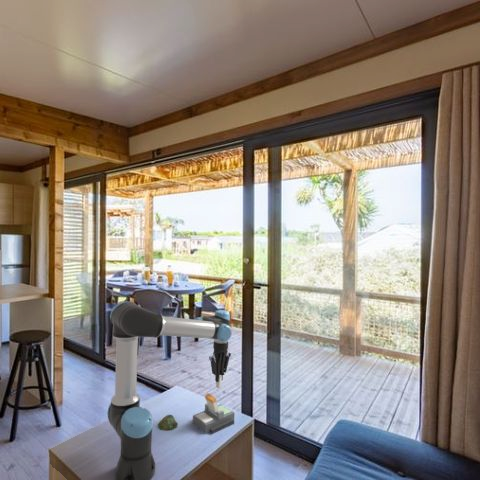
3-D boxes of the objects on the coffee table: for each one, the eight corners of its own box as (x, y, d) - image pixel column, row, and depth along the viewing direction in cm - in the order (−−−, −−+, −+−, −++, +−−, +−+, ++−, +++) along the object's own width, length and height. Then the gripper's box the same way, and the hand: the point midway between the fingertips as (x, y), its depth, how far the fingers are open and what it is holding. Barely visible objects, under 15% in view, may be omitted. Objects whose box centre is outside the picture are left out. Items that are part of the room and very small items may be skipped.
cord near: (212, 434, 159) (212, 430, 159) (209, 432, 160) (209, 428, 160) (234, 423, 168) (234, 420, 168) (231, 422, 169) (231, 418, 169)
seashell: (155, 421, 161) (162, 410, 171) (154, 429, 161) (161, 418, 171) (175, 425, 159) (181, 414, 169) (174, 433, 159) (180, 422, 169)
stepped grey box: (206, 433, 159) (206, 418, 158) (192, 423, 167) (192, 408, 167) (234, 420, 171) (235, 406, 171) (220, 411, 179) (220, 397, 179)
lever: (217, 416, 166) (212, 401, 163) (208, 410, 171) (203, 395, 169) (221, 413, 167) (216, 398, 165) (211, 407, 173) (207, 392, 170)
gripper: (215, 345, 163) (212, 393, 163) (235, 341, 172) (232, 386, 172) (206, 341, 169) (203, 387, 169) (226, 337, 178) (223, 381, 178)
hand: (218, 387), depth 170 cm, fingers closed
